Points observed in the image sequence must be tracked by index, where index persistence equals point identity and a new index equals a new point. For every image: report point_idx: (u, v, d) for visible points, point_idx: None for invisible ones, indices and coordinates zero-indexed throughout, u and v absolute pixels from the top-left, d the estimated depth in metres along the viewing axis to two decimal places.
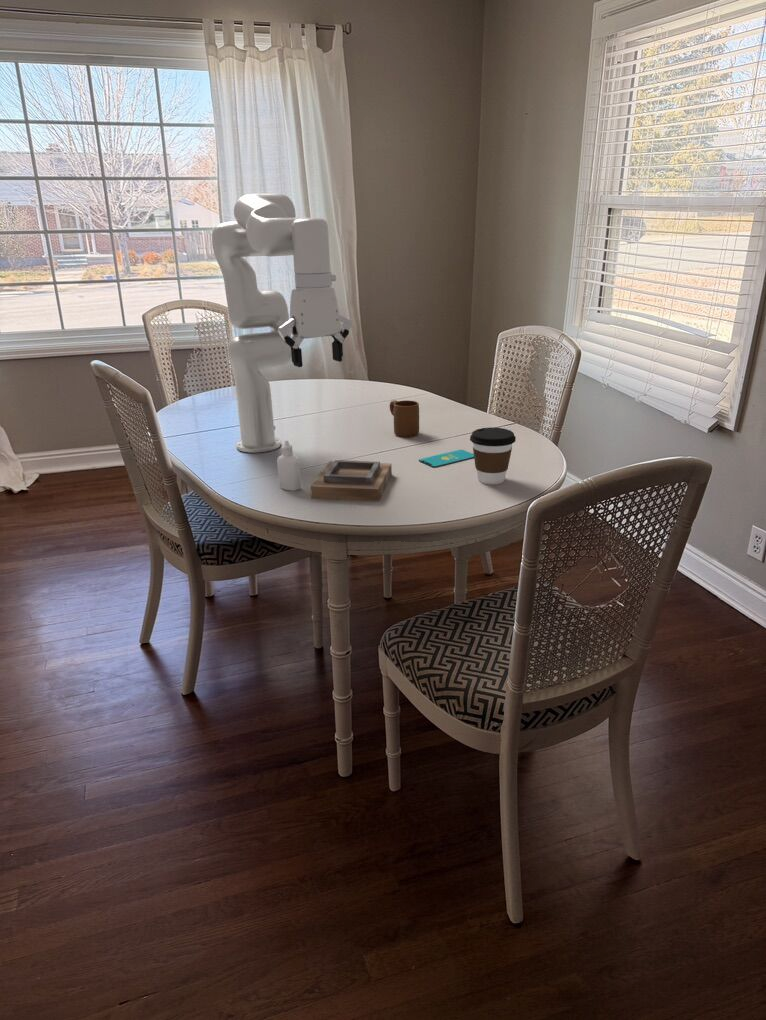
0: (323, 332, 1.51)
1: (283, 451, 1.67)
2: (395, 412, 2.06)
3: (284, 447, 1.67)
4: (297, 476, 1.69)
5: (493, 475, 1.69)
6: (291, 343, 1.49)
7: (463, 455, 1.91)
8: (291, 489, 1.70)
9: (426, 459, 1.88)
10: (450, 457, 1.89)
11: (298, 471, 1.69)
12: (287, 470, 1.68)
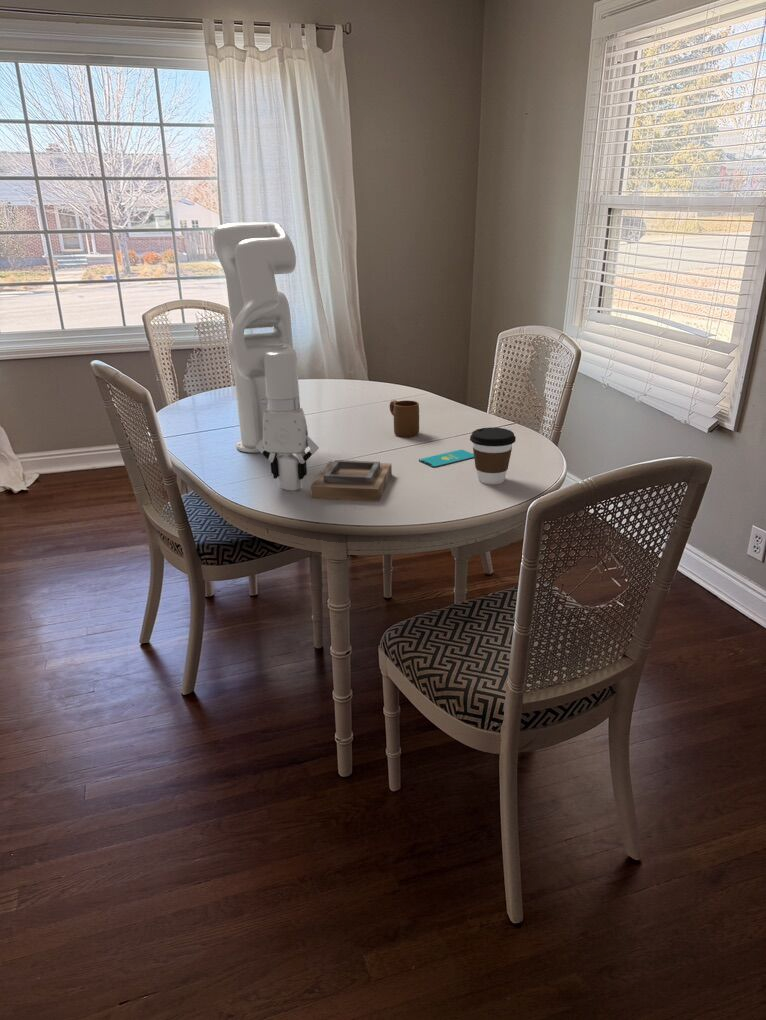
0: None
1: None
2: (395, 412, 2.06)
3: None
4: (297, 476, 1.69)
5: (493, 475, 1.69)
6: None
7: (464, 455, 1.90)
8: (291, 489, 1.70)
9: (426, 459, 1.88)
10: (450, 457, 1.89)
11: None
12: (287, 470, 1.68)
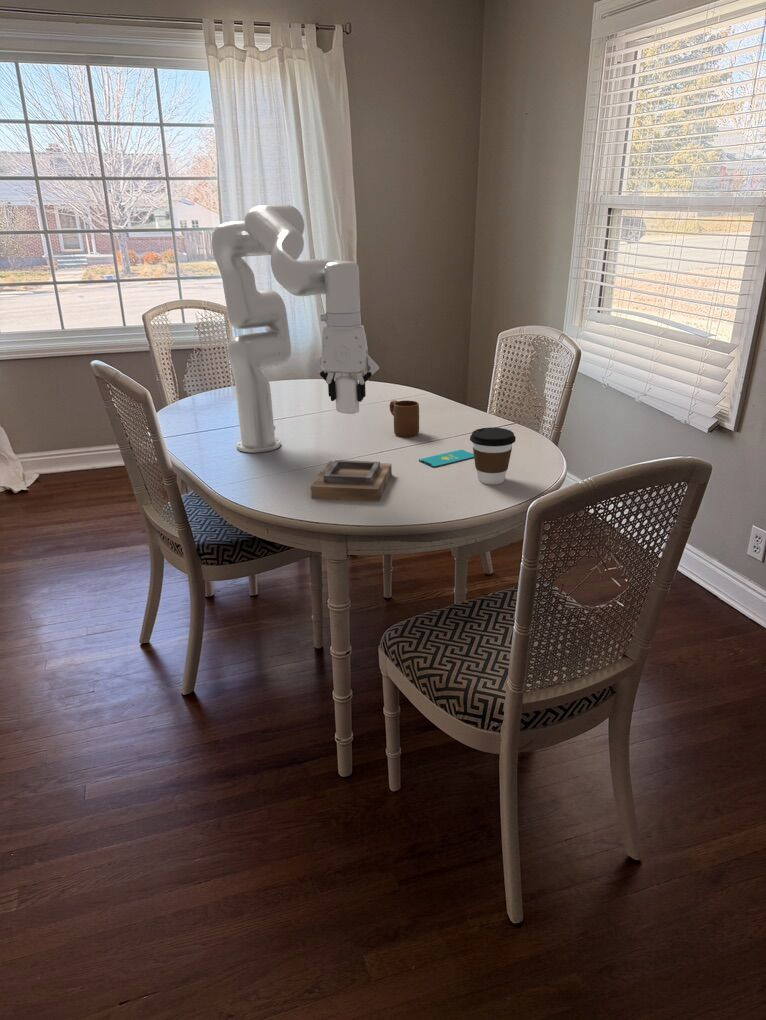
0: None
1: None
2: (395, 412, 2.06)
3: None
4: (356, 398, 1.62)
5: (493, 475, 1.69)
6: None
7: (464, 455, 1.90)
8: (349, 412, 1.63)
9: (426, 459, 1.88)
10: (450, 457, 1.89)
11: None
12: (346, 391, 1.61)
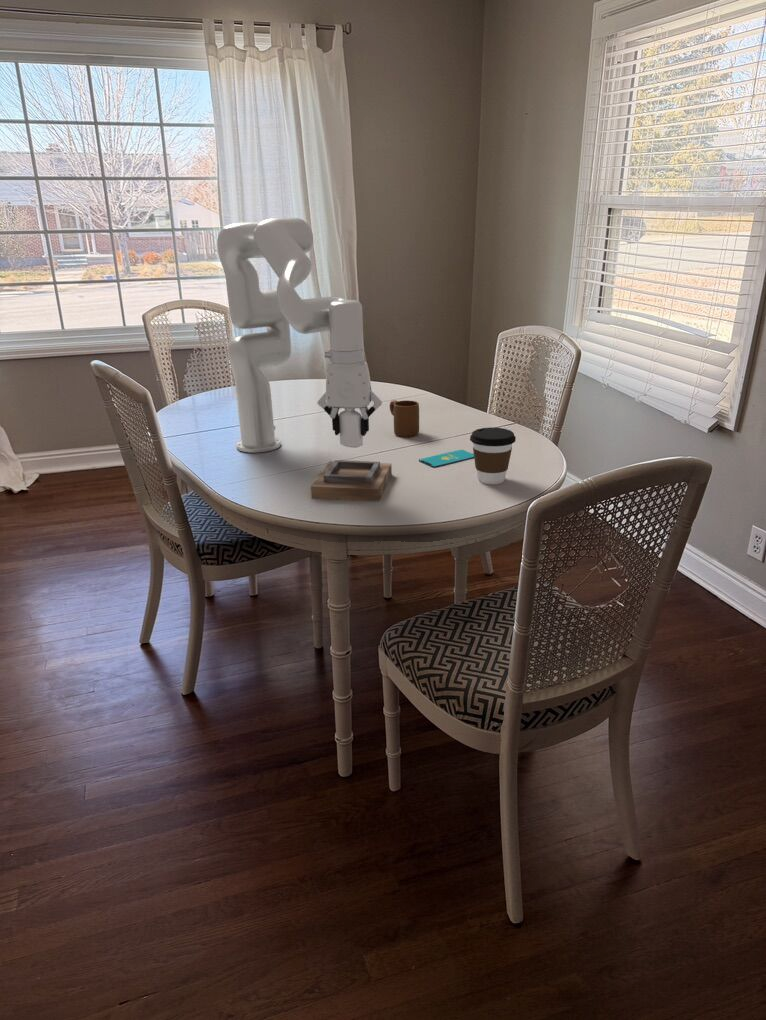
0: None
1: None
2: (395, 412, 2.06)
3: None
4: (359, 433, 1.65)
5: (493, 475, 1.69)
6: None
7: (464, 455, 1.90)
8: (353, 446, 1.66)
9: (426, 459, 1.88)
10: (450, 457, 1.89)
11: (360, 427, 1.65)
12: (350, 425, 1.64)
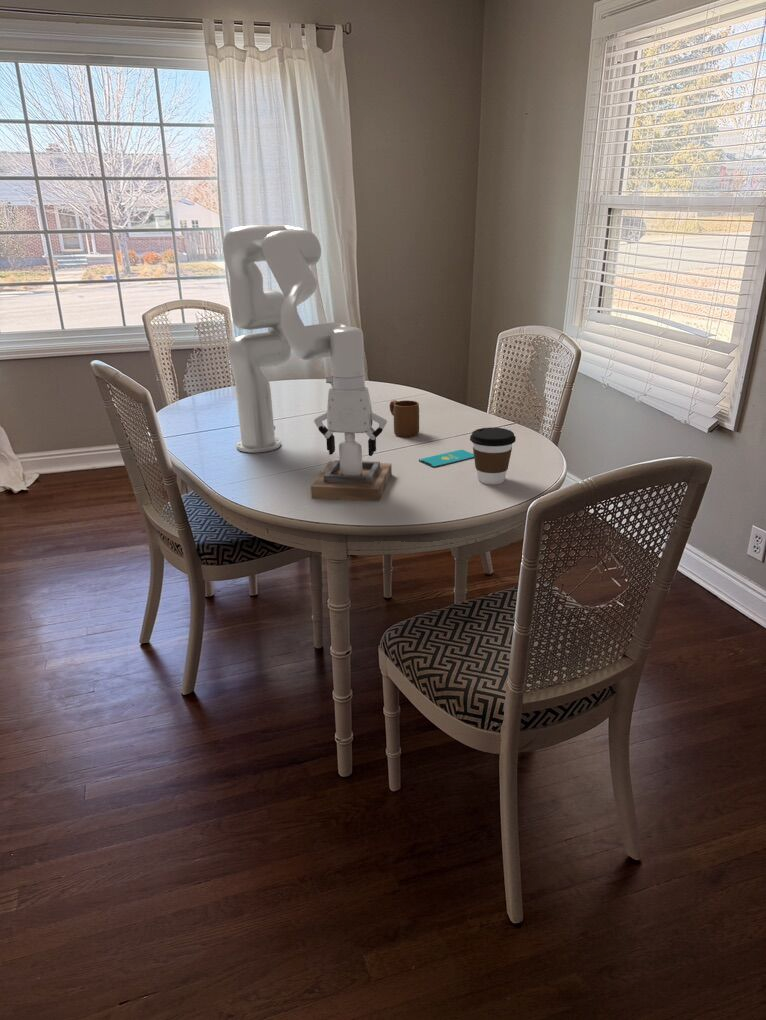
0: None
1: (346, 437, 1.67)
2: (395, 412, 2.06)
3: (347, 433, 1.66)
4: (359, 462, 1.68)
5: (493, 475, 1.69)
6: None
7: (464, 455, 1.90)
8: None
9: (426, 459, 1.88)
10: (450, 457, 1.89)
11: (360, 457, 1.68)
12: (350, 456, 1.67)
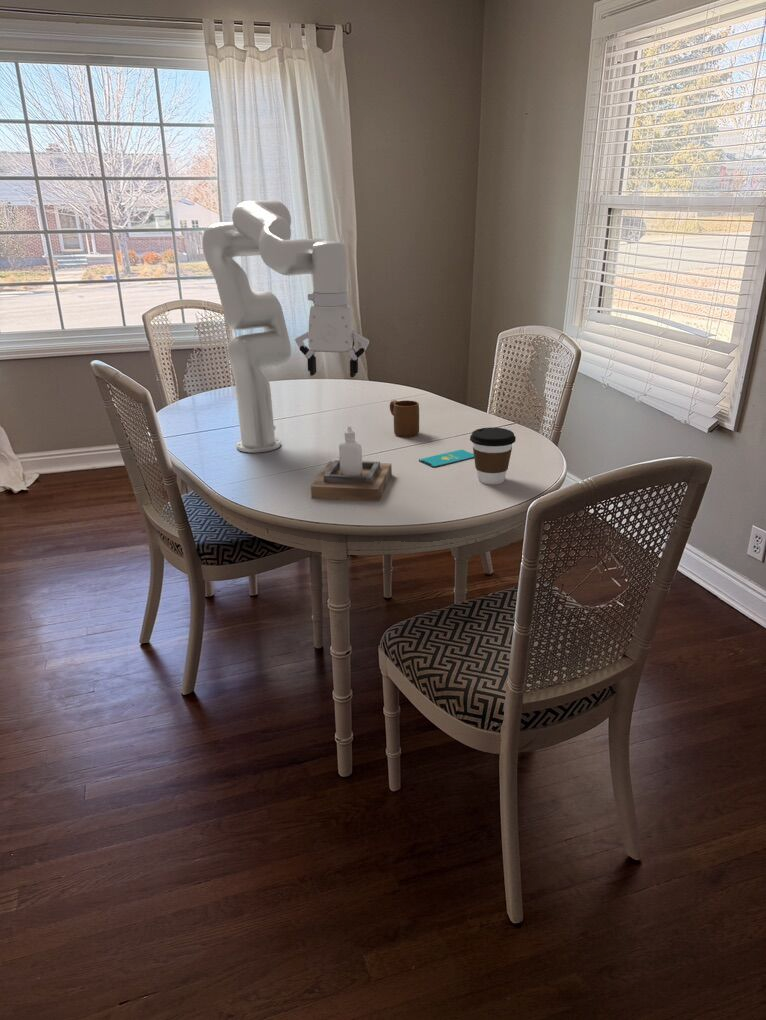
0: None
1: (346, 437, 1.67)
2: (395, 412, 2.06)
3: (347, 433, 1.66)
4: (359, 462, 1.68)
5: (493, 475, 1.69)
6: None
7: (464, 455, 1.90)
8: None
9: (426, 459, 1.88)
10: (450, 457, 1.89)
11: (360, 457, 1.68)
12: (350, 456, 1.67)
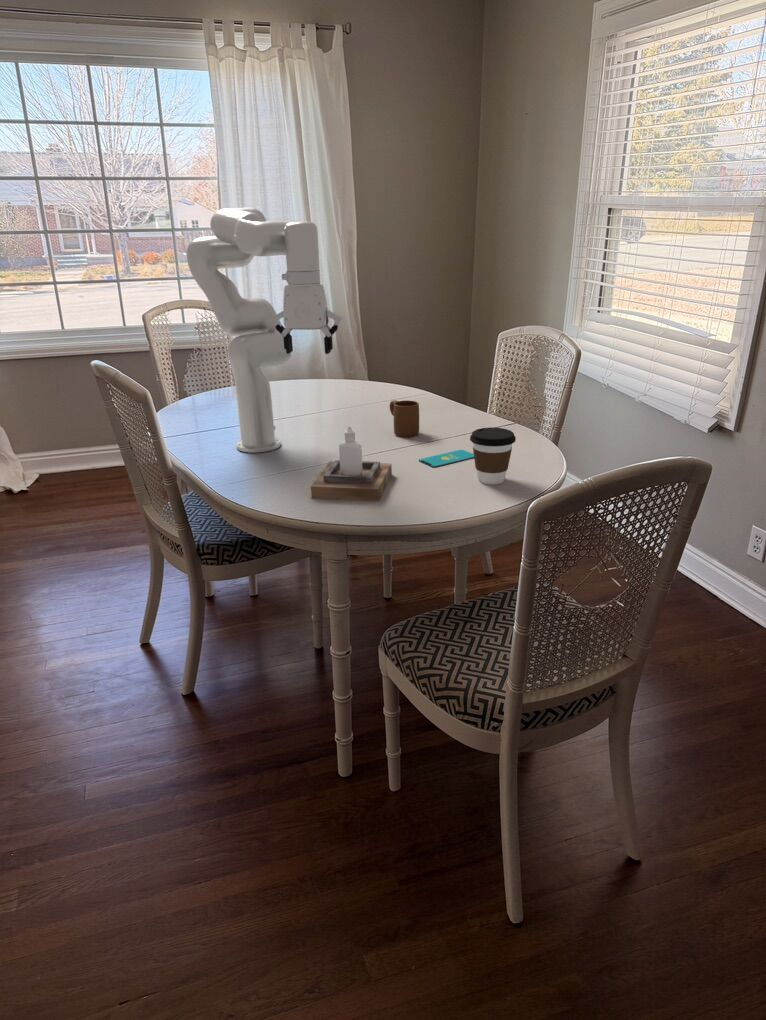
0: None
1: (346, 437, 1.67)
2: (395, 412, 2.06)
3: (347, 433, 1.66)
4: (359, 462, 1.68)
5: (493, 475, 1.69)
6: None
7: (464, 455, 1.90)
8: None
9: (426, 459, 1.88)
10: (450, 457, 1.89)
11: (360, 457, 1.68)
12: (350, 456, 1.67)
